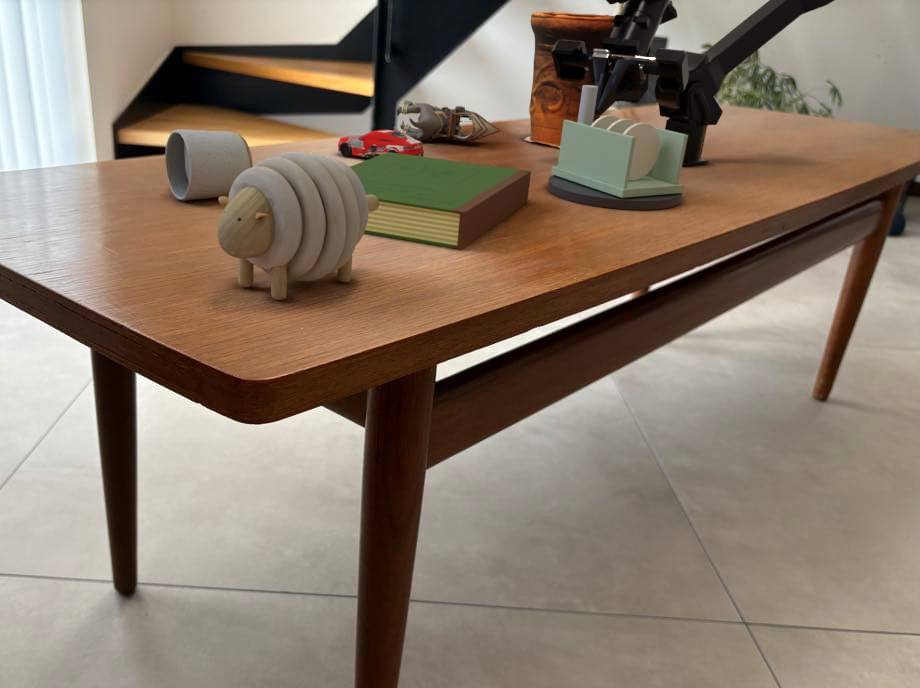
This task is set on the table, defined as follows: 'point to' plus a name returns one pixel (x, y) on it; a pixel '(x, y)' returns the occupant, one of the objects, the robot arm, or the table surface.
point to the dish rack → (619, 153)
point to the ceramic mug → (205, 162)
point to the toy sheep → (294, 219)
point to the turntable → (608, 196)
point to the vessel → (548, 91)
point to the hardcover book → (439, 197)
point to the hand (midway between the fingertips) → (597, 113)
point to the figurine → (443, 122)
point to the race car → (379, 144)
